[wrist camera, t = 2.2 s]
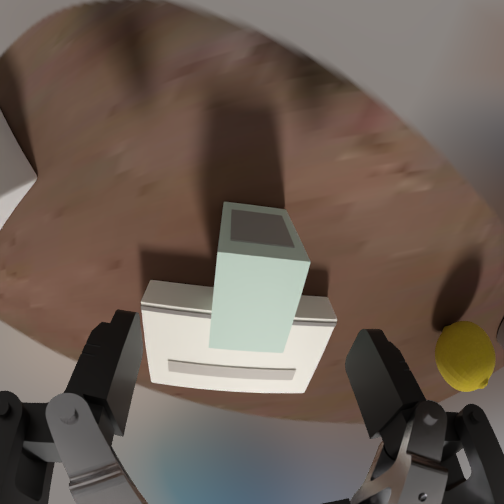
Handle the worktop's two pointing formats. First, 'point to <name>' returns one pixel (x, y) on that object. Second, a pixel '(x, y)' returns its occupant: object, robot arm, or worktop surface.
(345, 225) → the worktop surface
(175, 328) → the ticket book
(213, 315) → the pale green block
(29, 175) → the medicine bottle
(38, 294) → the worktop surface
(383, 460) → the robot arm
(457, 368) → the lemon
